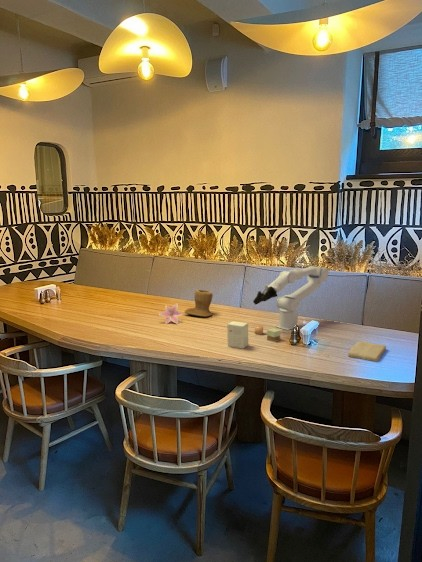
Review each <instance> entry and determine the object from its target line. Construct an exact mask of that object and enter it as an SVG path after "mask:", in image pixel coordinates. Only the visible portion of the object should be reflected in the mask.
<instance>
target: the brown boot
mask: <svg viewBox="0 0 422 562" xmlns="http://www.w3.org/2000/svg"><path fill="white" fill-rule="evenodd" d="M212 300H213V292H212V291H210V290H206V289H205V290H204V289H196V290H195V292H194V304H195V305H194V306H195V307H190V308H187V309H185V310H184V311H183V314H186V315H190V316H191V315H192V316H196V317H210V316H212V315H213V312H212V311H211V310H210V306H211V303H212Z"/></svg>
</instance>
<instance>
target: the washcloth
mask: <svg viewBox="0 0 422 562" xmlns="http://www.w3.org/2000/svg"><path fill="white" fill-rule="evenodd" d="M386 350H387V346H386V345H385V344H380V343H379V344H378V343H372V342H369V341H358V342H356V343H354V345H353V346H352V347H351V348H350V349H349V351H348V357H349V358H353V359H354V358H355V359H360V360H364V361H370V362H378V361H379V360H380V358H381V357H382V355H383V353H384V352H385V351H386Z"/></svg>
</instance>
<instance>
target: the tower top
mask: <svg viewBox="0 0 422 562" xmlns="http://www.w3.org/2000/svg"><path fill="white" fill-rule="evenodd" d="M281 333H282V330H281V329H278V328H276V327H275V328H274V327H273V328H269V329H267V331H266V336H267V335H268V336H271V337H277V336H280V337H281V336H282V335H281Z"/></svg>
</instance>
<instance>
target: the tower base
mask: <svg viewBox="0 0 422 562" xmlns="http://www.w3.org/2000/svg"><path fill="white" fill-rule="evenodd" d="M266 340H267V341H270V342H275V343H277V341H280V340H281V336H277V337H271V336H268V335H267V334H266Z"/></svg>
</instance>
